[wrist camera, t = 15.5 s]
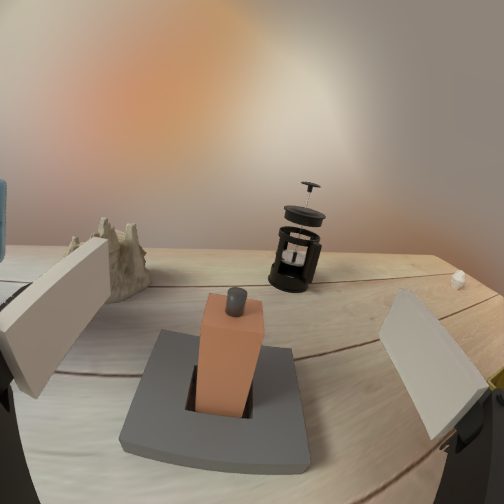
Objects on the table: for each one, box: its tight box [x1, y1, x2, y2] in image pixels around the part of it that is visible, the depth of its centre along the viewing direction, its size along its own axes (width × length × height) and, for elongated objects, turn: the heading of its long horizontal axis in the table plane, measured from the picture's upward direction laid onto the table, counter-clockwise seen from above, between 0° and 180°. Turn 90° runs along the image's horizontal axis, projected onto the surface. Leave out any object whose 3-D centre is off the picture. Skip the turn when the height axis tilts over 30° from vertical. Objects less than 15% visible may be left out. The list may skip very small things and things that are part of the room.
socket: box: [119, 330, 311, 475], centre depth 28 cm, size 18×18×3 cm
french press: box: [268, 182, 326, 293], centre depth 58 cm, size 12×9×23 cm
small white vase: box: [451, 270, 465, 290], centre depth 77 cm, size 6×6×7 cm
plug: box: [195, 287, 264, 418], centre depth 25 cm, size 5×5×16 cm
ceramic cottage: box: [63, 217, 151, 304], centre depth 46 cm, size 16×16×15 cm
